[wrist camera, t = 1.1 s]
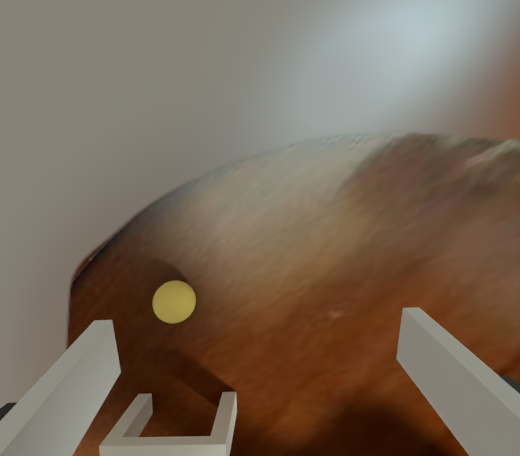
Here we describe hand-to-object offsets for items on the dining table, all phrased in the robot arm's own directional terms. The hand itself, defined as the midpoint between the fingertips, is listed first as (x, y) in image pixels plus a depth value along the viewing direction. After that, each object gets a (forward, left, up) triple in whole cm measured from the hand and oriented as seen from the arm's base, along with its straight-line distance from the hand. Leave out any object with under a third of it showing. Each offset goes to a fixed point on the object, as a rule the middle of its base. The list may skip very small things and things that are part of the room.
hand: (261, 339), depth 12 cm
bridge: (-21, +13, -27) cm, 36 cm away
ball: (-5, +13, -24) cm, 28 cm away
